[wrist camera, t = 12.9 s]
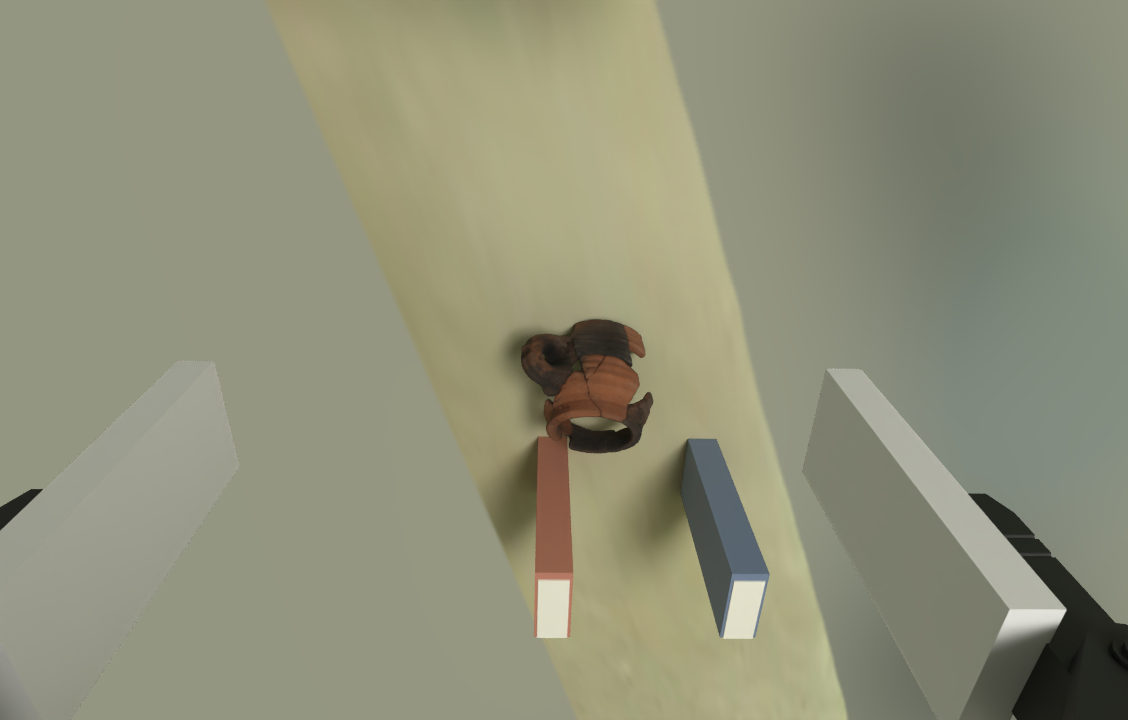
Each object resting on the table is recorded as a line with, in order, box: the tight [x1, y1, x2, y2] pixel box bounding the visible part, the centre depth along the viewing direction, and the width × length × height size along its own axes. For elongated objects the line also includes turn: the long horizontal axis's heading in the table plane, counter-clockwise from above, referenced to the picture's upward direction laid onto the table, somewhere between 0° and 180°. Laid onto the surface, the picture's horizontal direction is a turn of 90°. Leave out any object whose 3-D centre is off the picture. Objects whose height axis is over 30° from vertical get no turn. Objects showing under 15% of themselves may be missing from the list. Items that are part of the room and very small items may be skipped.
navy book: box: [681, 439, 769, 639], centre depth 54 cm, size 6×2×16 cm, turn 178°
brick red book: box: [534, 437, 573, 638], centre depth 53 cm, size 6×2×16 cm, turn 178°
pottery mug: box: [521, 320, 653, 453], centre depth 53 cm, size 12×9×8 cm
